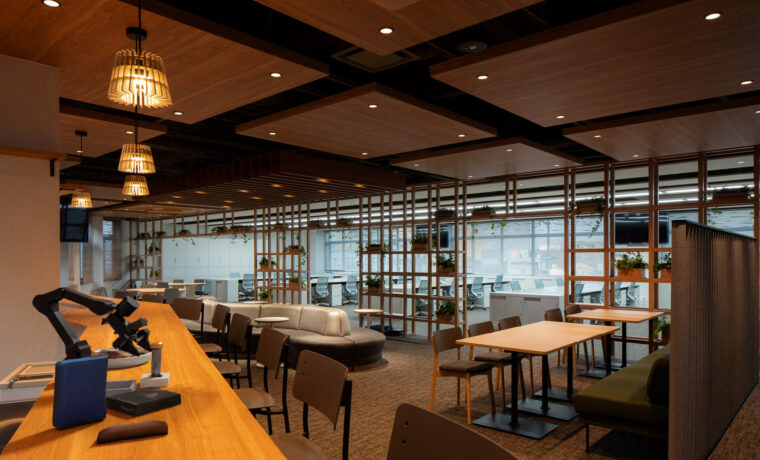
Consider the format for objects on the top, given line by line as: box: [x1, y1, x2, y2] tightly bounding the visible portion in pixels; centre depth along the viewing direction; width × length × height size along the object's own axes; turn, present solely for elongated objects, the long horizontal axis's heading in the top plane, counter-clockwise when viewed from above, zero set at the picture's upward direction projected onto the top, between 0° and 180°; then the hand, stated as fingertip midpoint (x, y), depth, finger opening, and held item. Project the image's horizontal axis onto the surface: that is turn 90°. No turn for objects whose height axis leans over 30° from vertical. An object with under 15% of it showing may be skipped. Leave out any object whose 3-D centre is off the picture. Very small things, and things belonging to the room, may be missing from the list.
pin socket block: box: [139, 372, 171, 389], centre depth 197 cm, size 10×10×3 cm
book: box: [51, 354, 108, 430], centre depth 149 cm, size 14×5×20 cm, turn 141°
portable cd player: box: [106, 387, 183, 418], centre depth 168 cm, size 16×17×4 cm
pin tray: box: [105, 379, 137, 400], centre depth 180 cm, size 14×14×4 cm
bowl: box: [90, 346, 152, 370], centre depth 233 cm, size 30×30×8 cm
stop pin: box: [150, 341, 164, 378], centre depth 197 cm, size 4×4×16 cm
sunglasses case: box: [96, 419, 169, 445], centre depth 140 cm, size 18×7×7 cm, turn 120°
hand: (145, 353), depth 197 cm, fingers open, 9 cm apart
